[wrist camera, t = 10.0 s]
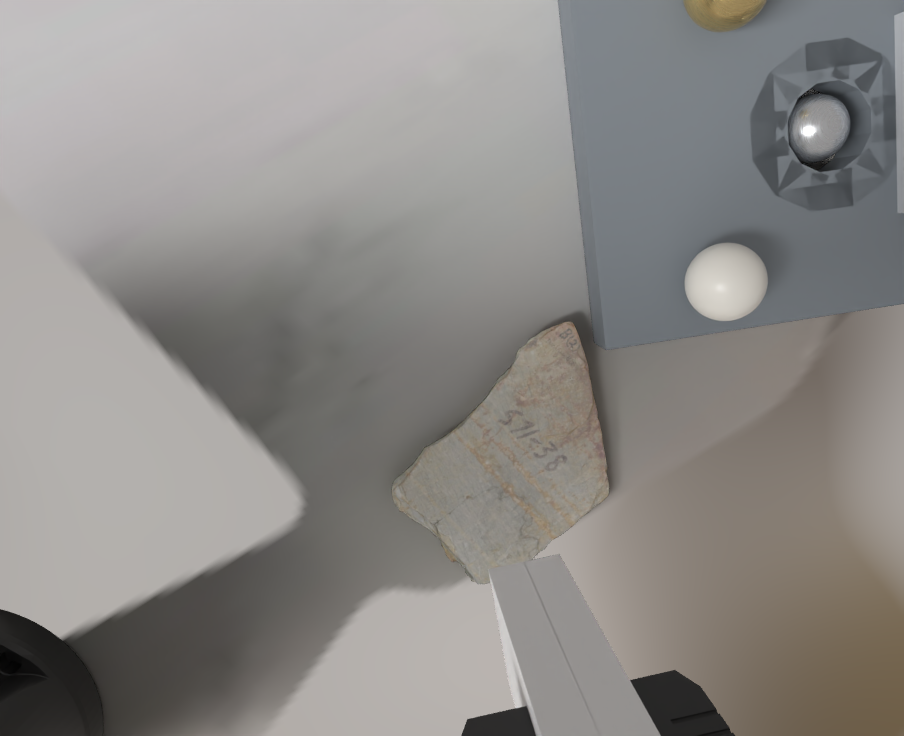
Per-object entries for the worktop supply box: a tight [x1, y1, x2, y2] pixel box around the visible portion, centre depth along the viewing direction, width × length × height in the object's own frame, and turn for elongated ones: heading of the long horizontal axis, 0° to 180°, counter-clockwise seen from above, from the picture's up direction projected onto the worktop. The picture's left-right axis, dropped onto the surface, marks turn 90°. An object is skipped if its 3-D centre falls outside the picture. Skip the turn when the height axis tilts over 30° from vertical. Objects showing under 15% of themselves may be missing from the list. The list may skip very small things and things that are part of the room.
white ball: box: [685, 243, 768, 321], centre depth 37 cm, size 4×4×4 cm
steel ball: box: [788, 94, 850, 163], centre depth 39 cm, size 4×4×4 cm
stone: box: [391, 321, 609, 584], centre depth 42 cm, size 15×11×3 cm
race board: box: [558, 0, 904, 350], centre depth 38 cm, size 18×20×5 cm
